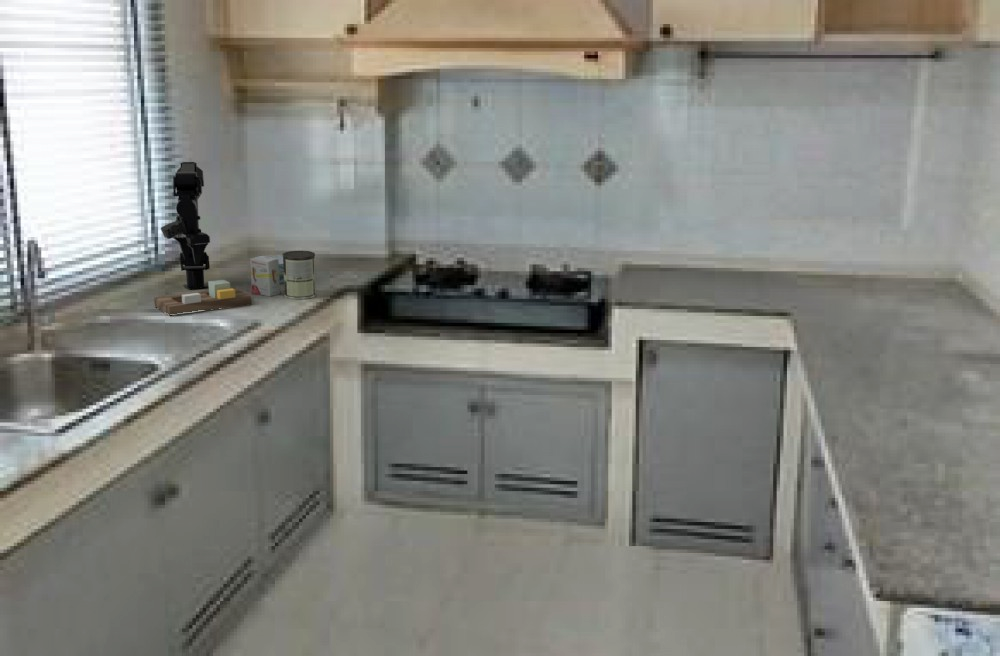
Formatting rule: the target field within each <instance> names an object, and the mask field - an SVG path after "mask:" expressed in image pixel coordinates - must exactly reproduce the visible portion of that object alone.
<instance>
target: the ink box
mask: <svg viewBox="0 0 1000 656" xmlns="http://www.w3.org/2000/svg"><path fill="white" fill-rule="evenodd" d="M266 256H267V255H259V256H255V257H252V258H250V260H249V261H250V275H251V276H250V278H251V279H250V280H251V281H250V284H251V293H252V294H255V295H261V296H267V297H273V296H276V295H280V294H281V292H280V290H281V289H280V283H279V260H277V259H276V258H271V257H266Z"/></svg>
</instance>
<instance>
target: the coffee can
mask: <svg viewBox="0 0 1000 656" xmlns="http://www.w3.org/2000/svg"><path fill="white" fill-rule="evenodd" d="M282 256H283V269H284V282H283V288H284V291H283V292H284V298H286V299H288V300H298V299H299V300H308V299H312V298H315V297H316V296H317V294H316V291H317V290H316V261H315V258H316V257H315V256H316V253H315V252H313V251H309V250H289V251H285V252H283V253H282Z"/></svg>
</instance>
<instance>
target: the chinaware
mask: <svg viewBox="0 0 1000 656" xmlns="http://www.w3.org/2000/svg"><path fill="white" fill-rule="evenodd" d="M265 256H266V257H271V258H276V259H277V260H279V284H281V283H284V269H283V254H282V255H279V254H278V255H276V254H272V255H265Z"/></svg>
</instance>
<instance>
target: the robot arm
mask: <svg viewBox="0 0 1000 656" xmlns="http://www.w3.org/2000/svg"><path fill="white" fill-rule="evenodd" d="M174 174H175V175H174V176H172V177H173V178H172V183H173V184H172V186H173V189H172V190H173V193H172V194H173V197H178V198H177V204H176V213H177V214H178V215H176V217H175V221H173V222H170V223H167V224H166V225H164V226H161V227H160V230H161V232H162V235H163V237H164V238H167V239H168V240H170V239H174V240H175V241H176V242H178V245H179V247H180V250H181V252H180V253H179V259H180V261H179V262H180V271H185V277H186V284H182V287H184V288H186V289H188V290H190V291H191V290H200V289H207V288H208V289H209V285H208V284H205V273H204V271H208V270H210V269H211V268H210V267H211V265H210V256H209V255H208V254H207V251H206V248H207V246H208V245H209V244H210V243H211V237H210V235H208V234H207V233H206V232H202V229H201V228H200V227H199V225H200V224H199V221H200V220H201V215H199V199H200V197H201V195H202V194H203V187H205V178H204V176H205V175H204V170H203V169H201V168H200V167H199V166H198V164H197V162H195V161H182V162H180V167H179V168H178V169H177V171H176V172H175V173H174Z"/></svg>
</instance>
